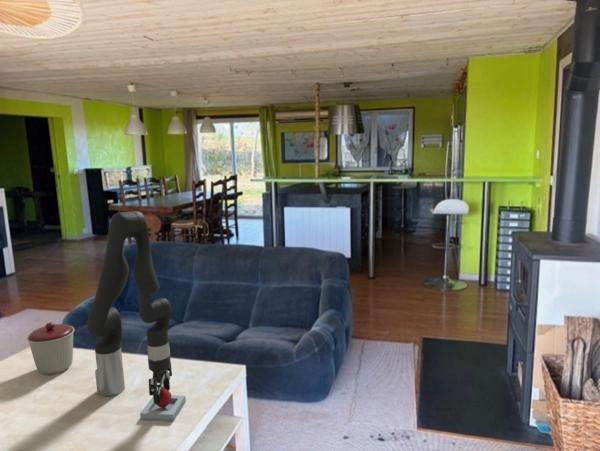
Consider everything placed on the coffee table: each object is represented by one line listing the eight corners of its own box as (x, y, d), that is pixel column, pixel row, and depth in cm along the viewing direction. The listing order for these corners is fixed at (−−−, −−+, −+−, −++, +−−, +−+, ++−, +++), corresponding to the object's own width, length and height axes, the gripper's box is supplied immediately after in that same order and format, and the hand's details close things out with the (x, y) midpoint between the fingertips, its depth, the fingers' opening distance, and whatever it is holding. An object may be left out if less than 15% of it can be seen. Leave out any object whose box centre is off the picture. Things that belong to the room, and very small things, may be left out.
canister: (33, 364, 201) (27, 319, 197) (78, 355, 208) (73, 312, 204) (29, 383, 185) (22, 334, 181) (78, 373, 192) (72, 326, 188)
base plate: (140, 419, 159) (140, 413, 158) (154, 400, 170) (154, 394, 170) (173, 421, 157) (173, 414, 157) (185, 401, 169) (185, 395, 169)
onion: (167, 412, 160) (165, 391, 159) (152, 411, 161) (150, 390, 160) (174, 404, 166) (173, 383, 165) (160, 402, 167) (158, 382, 166)
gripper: (157, 345, 167) (160, 385, 170) (139, 363, 153) (143, 407, 156) (176, 346, 166) (179, 386, 169) (160, 364, 152) (164, 408, 155)
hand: (162, 396), depth 163 cm, fingers open, 8 cm apart
